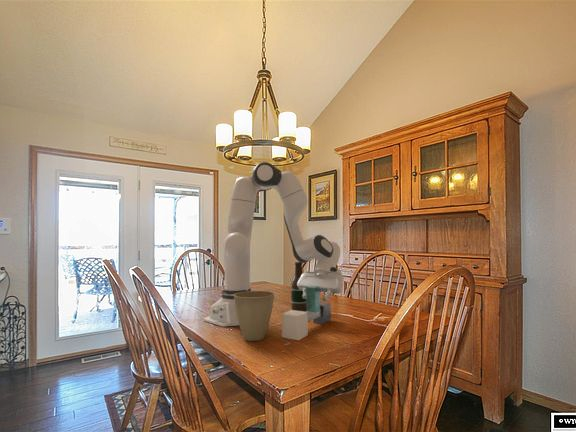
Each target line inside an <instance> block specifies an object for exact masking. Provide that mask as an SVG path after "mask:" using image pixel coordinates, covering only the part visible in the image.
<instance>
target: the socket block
mask: <svg viewBox="0 0 576 432" xmlns="http://www.w3.org/2000/svg"><path fill="white" fill-rule="evenodd" d="M308 323H309V322H308V317H307V312H304V311H296V310H292V309H290V310H288V311H285V312H283V313H281V338H284V339H290V340H295V341H300V340H301V339H303V338H306V337H307V336H308V335H309V334H308V333H309V330H308V329H309V328H308V325H309V324H308Z"/></svg>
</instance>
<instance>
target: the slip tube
mask: <svg viewBox="0 0 576 432" xmlns="http://www.w3.org/2000/svg"><path fill="white" fill-rule="evenodd" d="M320 302H321V301H320V292H319V286H308V287H306V307H307V311H306V312H307V317H308V323H309V322H311V321H313V319H315V318H317V317H319V316H321V315H323V308H322V307H320Z"/></svg>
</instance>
